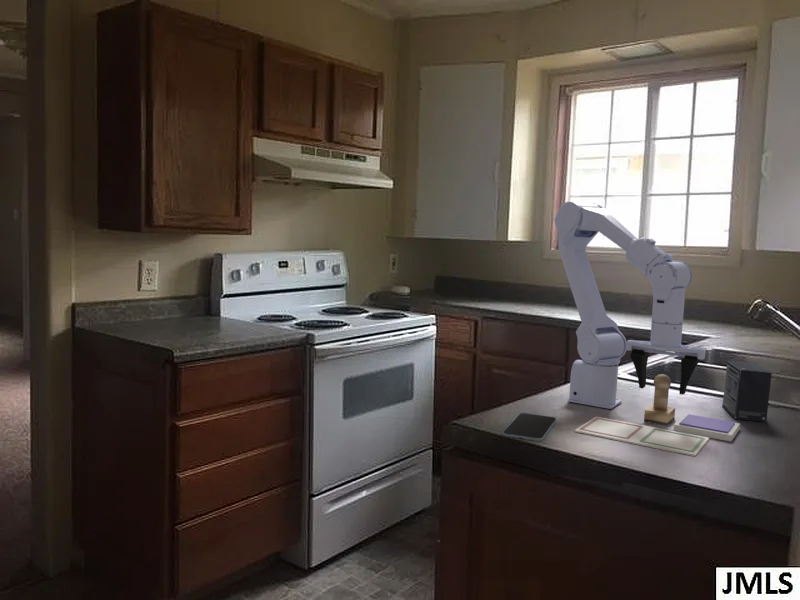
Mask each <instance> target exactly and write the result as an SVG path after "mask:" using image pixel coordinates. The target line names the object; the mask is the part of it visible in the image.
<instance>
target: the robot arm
mask: <svg viewBox="0 0 800 600" xmlns="http://www.w3.org/2000/svg"><path fill="white" fill-rule="evenodd" d="M553 221H554V223H555V227H556V230H557V235H558V238H557V240H558V243H557V245H558V246H557V247H558V251H559V256H560V258H561V261H562V264H563V267H564V271H565V274H566V277H567V280H568V283H569V286H570V290H571V293H572V296H573V299H574V303H575V305H576V309H577V312H578V315H579V319H580V322H581V323H580V325H579V326H578V327H577V329H576V331H575V334H576V337H577V338H576V339H577V345H576V347H577V348H576V349H577V354H578V355H579V356H580V358H581V359H575V360H574V362H573V363H572V366H571V370H570V377H569V378H570V379H569V381H570V382H569V396H568V399H567V402H570V403H575V404H580V405H585V406H592V407H595V408H596V407H597V408H601V409H602V408H603V409H607V410H611V409H613V408H614V407H617V406H618V405H619V404H621V403H622V402H623V401H622V399H619V398H617V390H618V376H619V375H618V374H619V365H620V364H619V363H621V358H622V357H623V356H625V354H626V352H627V351H631V352H630V354H629V356H630V359H631V361H632V363H633V367H634V368H635V371H636V376H637V380H638V388H639V389H644V388H646V385H647V383H646V382H647V367H648V361H649V354H650V353H652V354H657V355H658V354H659V355H666V356H675V357H682V358H681V359H680V384H679V390H678V392H679V395H685V394H686V392H687V388H688V384H689V381H690V378H691V376H692V375H693V372H694V371H695V369H696V367H698V364H699V362H700V360H702V361H703V360H705V359H706V352H707V351H706V350H707V349H706V348H705V347H704V348H703V347H696V346H689V345H685V344H682V336H683V325H684V324H683V323H684V322H683V321H684V313H685V311H684V310H685V299H686V298H685V297H686V289H687V288H688V287H689V286H690V285H691V283H692V280H693V272H692V269H691V267H690V266H689V265H688V264H687V262H686V261H684V260H674V258H673V257H674V256H673V255H672V254H671V253H666V252H665V251H663V250H662V249H661V248H660V247H658V246H657V245H656V243H657V241H656V240H654V239H653V238H646V237H640V238H637V237H636V236H635V235H634V234H633V233H632V232H631V231H630V230H628V229H627V227H625V226H624V225H623V224H622V223H621V222H619V220H617V218H616V217H614V216H613V215H612V214H611V212H610V210H609V209H607V208H604V207H603V206H602V205H601V204H599V203H593V202H592V203H584V202H574V201H566V202H564V203H563V204H561V205H560V207H559V208H558V210H557V213H556V215H555V217H554V220H553ZM598 233H600V234H601V235H603V236H604V237H606V238H607V239H609V240H610V241H611V242H613V243H614V244H615V245H617V246H618V247H620V248H621V249H622V250H624V251H625V258H626V260H627V261H628V262H629V263H630V264H631V265H633V266H634V267H635V268H636V269H637V270H639V271H640V272H641V273H642V274H644V275H645V276H646V277H647V280H648V283H649V285H650V287H651V289H652V295H651V296H652V297H653V298H652V312H651V326H650V337H649V338H650V340H634V339H629V340H627V339H626V337H625V335H624V334H623V333H622V332H621V331H620V329H619V326H618V323H617V322H615V320H613V318H612V319H611V317H610V316H609V315H607V314H608V313H606V309H605V305H604V302H603V300H602V297H601V294H600V293H601V292H600V290H599V287H598V285H597V282H596V277H595V275H594V272H593V268H592V266H591V263H590V260H589V256H588V254H587V253H588V252H587V249H586V248H587V247H588V245H589V244H590V243H591V242H592V240H593V239H594V238H595V237H596V236H597V235H598Z"/></svg>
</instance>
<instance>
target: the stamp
mask: <svg viewBox="0 0 800 600" xmlns="http://www.w3.org/2000/svg"><path fill="white" fill-rule="evenodd" d="M653 384H654V385H653V386H654V395H653V397H654V398H653V403H652V404H650V406H648V407H646V408H645V409H644V413H643V414H644V417H643V422H644V421H645V422H644V423H649V422H650V424H654V423H656V424H655V425H659V424H660V426H665V425H666V426H665V427H668V426H669V425H670V424H671V423H672V422H673V421H675V416H676V407H672V406H669V404H668V403H669V392H670V391H669V390H670V387H671V386H672V385H671V384H672V381H671V378H670V376H668V375H667V374H664V373H661V374H657V375H656V376H655V377H654V379H653ZM668 424H669V425H668ZM667 425H668V426H667Z"/></svg>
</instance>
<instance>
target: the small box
mask: <svg viewBox="0 0 800 600" xmlns="http://www.w3.org/2000/svg"><path fill="white" fill-rule="evenodd" d="M725 372H726V373H725V379H724V381H725V382H724V389H723V390H724V391H723V400H722V403H721V404H722V405H721V406H722V408H723V409H724V410H725V411H726V412H727V414H729V415H730V416H731V417H732V418H733V419H734V420H740V421H752V422H762V423H767V420H768V411H769V410H768V409H769V402H770V401H769V400H770V390H771V383H772V375H773V372H772V371H770V370H769V369H767V368H766V367H764V366H762V365H760V364H759V363H757V362H748V361H747V362H746V361H739V360H738V361H737V360H726V371H725Z"/></svg>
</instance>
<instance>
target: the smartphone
mask: <svg viewBox="0 0 800 600" xmlns="http://www.w3.org/2000/svg"><path fill="white" fill-rule="evenodd" d="M556 423H557V418H556V417H554V416H549V415H543V414H542V415H541V414H534V413H527V412H521V413H518V415H516V416H515V418H514V419H513V420H512V421H510V423H509V424H508V425H507V426H506V427H505V429H504V430H503V431H502V436H503V437H509V438H514V439H516V438H517V439H523V440H528V441H534V442H535V441H536V442H542V441H543V440H544V439H545V438H546V437H547V435H549V432H550V431H551V430H552V429H553V428H554V426H555V424H556Z"/></svg>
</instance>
